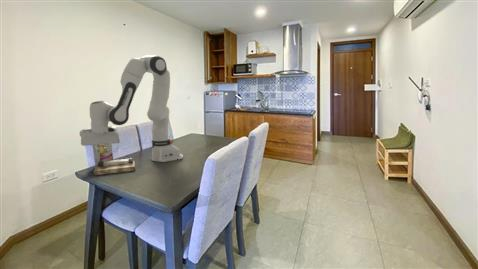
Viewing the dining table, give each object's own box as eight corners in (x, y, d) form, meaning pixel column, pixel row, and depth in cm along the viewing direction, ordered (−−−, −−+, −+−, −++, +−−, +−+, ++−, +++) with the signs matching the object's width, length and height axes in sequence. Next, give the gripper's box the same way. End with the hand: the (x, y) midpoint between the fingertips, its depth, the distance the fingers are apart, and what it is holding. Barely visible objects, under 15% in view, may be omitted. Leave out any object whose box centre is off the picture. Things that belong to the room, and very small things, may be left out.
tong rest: (134, 164, 159) (134, 160, 158) (135, 170, 147) (134, 166, 147) (97, 168, 150) (96, 164, 150) (94, 175, 138) (93, 171, 138)
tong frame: (133, 161, 156) (132, 157, 156) (133, 163, 153) (132, 158, 153) (98, 165, 148) (98, 160, 148) (98, 166, 145) (97, 162, 145)
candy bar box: (107, 161, 163) (104, 138, 159) (113, 162, 162) (111, 139, 158) (94, 167, 152) (91, 142, 149) (101, 167, 151) (98, 143, 148)
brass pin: (106, 155, 143) (105, 144, 142) (102, 157, 140) (101, 145, 139) (102, 155, 144) (101, 144, 143) (98, 156, 141) (97, 145, 140)
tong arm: (128, 162, 153) (128, 159, 153) (128, 163, 151) (128, 160, 151) (98, 165, 146) (98, 162, 146) (98, 166, 144) (97, 163, 144)
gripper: (78, 130, 132) (80, 154, 135) (118, 128, 140) (120, 151, 143) (80, 128, 137) (82, 151, 140) (119, 127, 146) (121, 148, 149)
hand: (102, 151), depth 142 cm, fingers closed on brass pin, 3 cm apart
